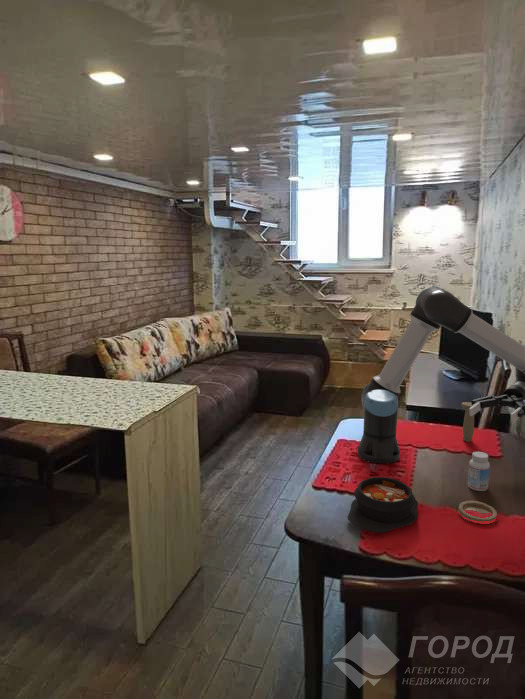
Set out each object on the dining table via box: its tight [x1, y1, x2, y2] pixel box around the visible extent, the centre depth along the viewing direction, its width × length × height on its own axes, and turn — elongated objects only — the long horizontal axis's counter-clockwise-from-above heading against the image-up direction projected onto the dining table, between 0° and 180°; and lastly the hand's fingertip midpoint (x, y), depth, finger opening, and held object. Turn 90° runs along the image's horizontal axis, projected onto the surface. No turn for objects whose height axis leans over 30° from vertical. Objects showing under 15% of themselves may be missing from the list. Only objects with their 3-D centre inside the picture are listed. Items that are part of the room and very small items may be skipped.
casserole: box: [346, 476, 419, 534], centre depth 140 cm, size 25×19×8 cm
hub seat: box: [457, 500, 498, 522], centre depth 141 cm, size 10×10×2 cm
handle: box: [460, 401, 475, 443], centre depth 191 cm, size 5×6×15 cm
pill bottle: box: [467, 451, 491, 492], centre depth 156 cm, size 6×6×11 cm
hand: (490, 415), depth 161 cm, fingers open, 13 cm apart
